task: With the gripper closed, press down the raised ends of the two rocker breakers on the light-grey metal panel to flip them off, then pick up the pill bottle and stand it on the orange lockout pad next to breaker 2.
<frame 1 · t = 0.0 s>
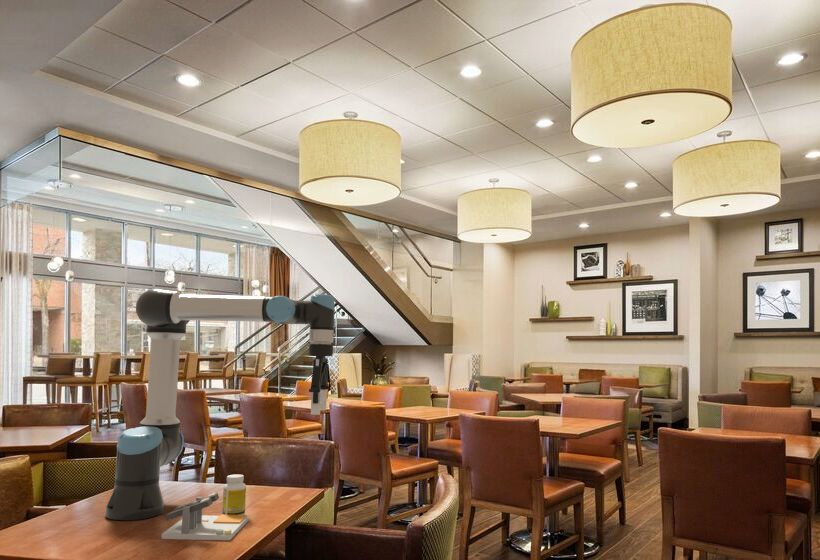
hand: (318, 412, 190), 28 cm above the table, fingers open, 13 cm apart
breaker 1: (189, 508, 155), point 7 cm above the table, hinge at -20.0°
pill bottle: (233, 516, 173), on the table
breaker 2: (196, 503, 160), point 7 cm above the table, hinge at -20.0°
breaker panel: (207, 529, 160), on the table
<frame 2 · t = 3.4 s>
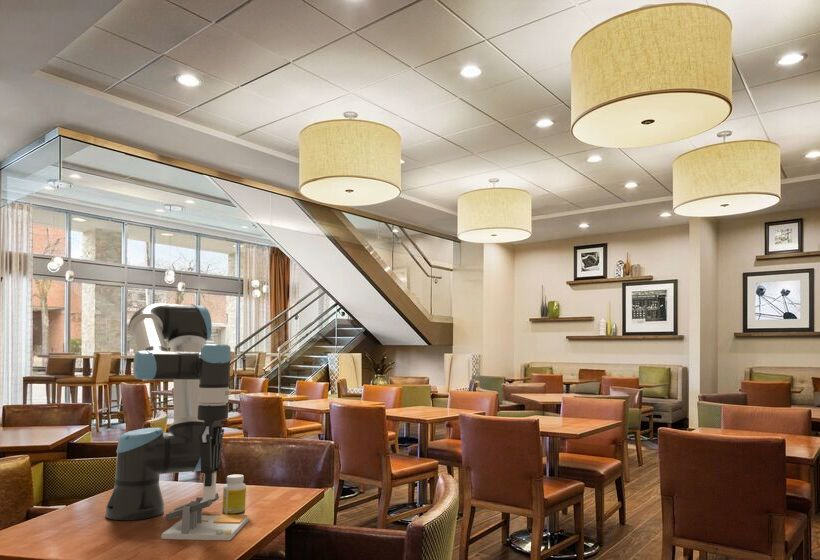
hand: (208, 498, 155), 9 cm above the table, fingers closed
breaker 1: (189, 508, 155), point 7 cm above the table, hinge at -19.2°, touching gripper
everything else where it was.
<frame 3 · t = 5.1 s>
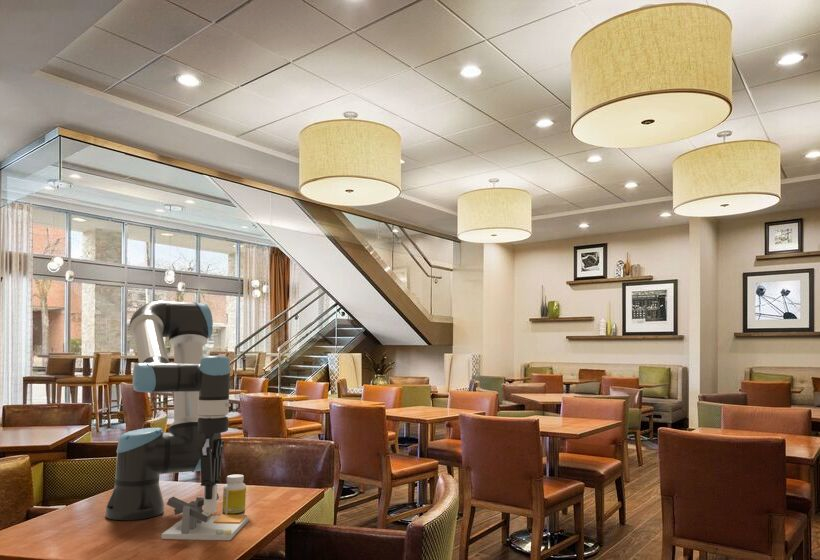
hand: (209, 511, 154), 6 cm above the table, fingers closed
breaker 1: (189, 508, 155), point 7 cm above the table, hinge at 22.3°, touching gripper
everything else where it was.
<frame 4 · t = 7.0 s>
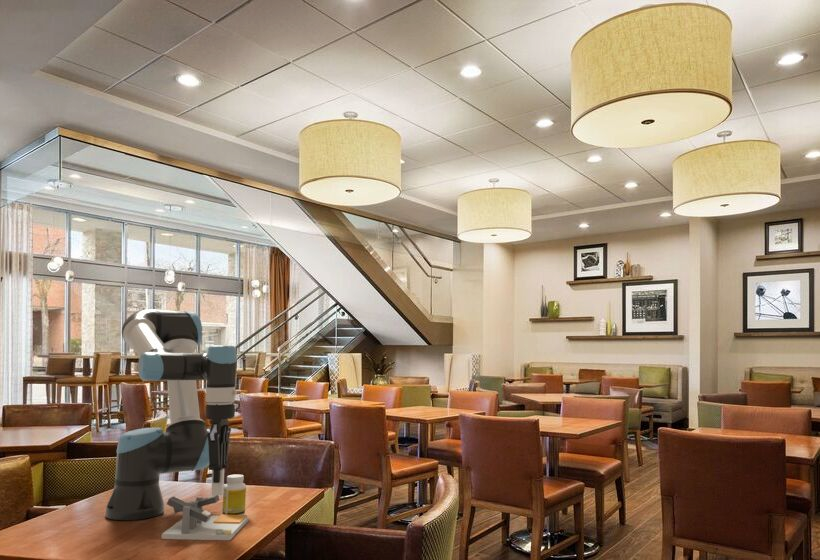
hand: (217, 494, 160), 9 cm above the table, fingers closed
breaker 1: (189, 508, 155), point 7 cm above the table, hinge at 22.8°
breaker 2: (196, 503, 160), point 7 cm above the table, hinge at -15.4°, touching gripper
everything else where it was.
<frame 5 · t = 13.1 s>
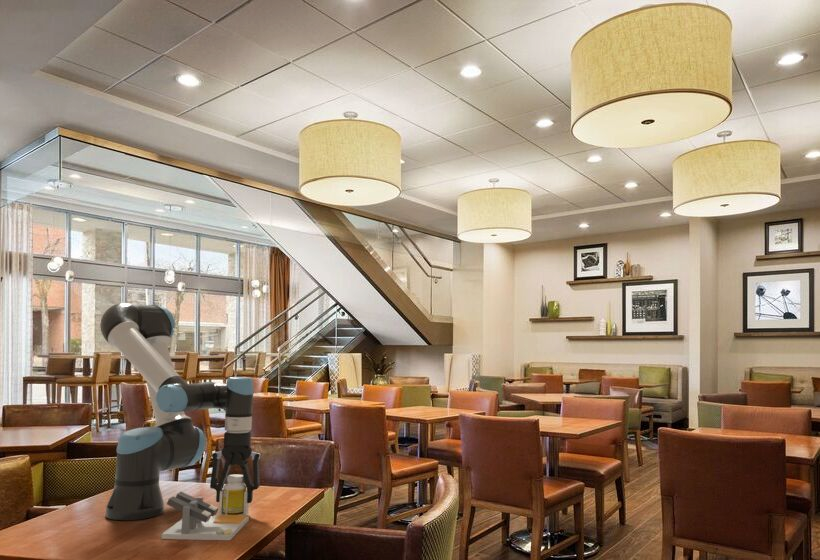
hand: (233, 514, 173), 0 cm above the table, fingers closed on pill bottle, 6 cm apart
pill bottle: (233, 516, 173), on the table, touching gripper
breaker 2: (197, 503, 160), point 7 cm above the table, hinge at 22.4°
everything else where it was.
when the fingers open (3 cm above the table, at t = 17.5 s): pill bottle drops 1 cm, resting on breaker panel.
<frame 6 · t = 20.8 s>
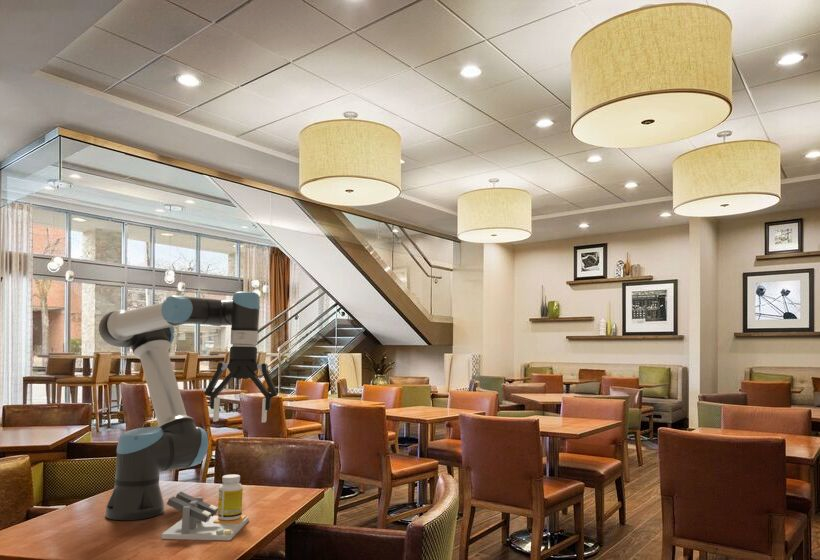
hand: (239, 421, 173), 27 cm above the table, fingers open, 13 cm apart
pill bottle: (229, 518, 165), point 1 cm above the table, touching breaker panel
everything else where it was.
at the end: breaker 1 at +23° (first picture: -20°); breaker 2 at +22° (first picture: -20°); pill bottle 0.2 cm from the target spot, point 1.4 cm above the table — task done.
